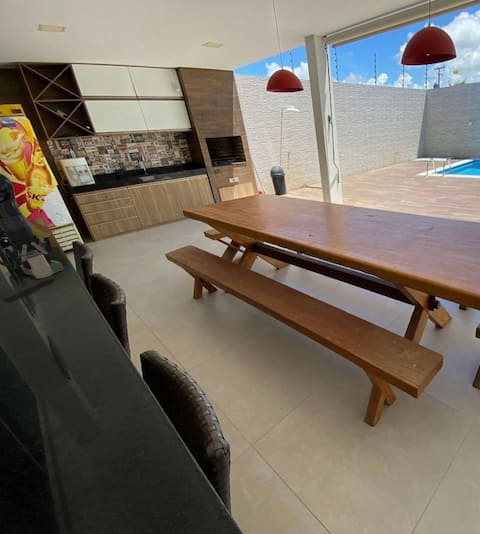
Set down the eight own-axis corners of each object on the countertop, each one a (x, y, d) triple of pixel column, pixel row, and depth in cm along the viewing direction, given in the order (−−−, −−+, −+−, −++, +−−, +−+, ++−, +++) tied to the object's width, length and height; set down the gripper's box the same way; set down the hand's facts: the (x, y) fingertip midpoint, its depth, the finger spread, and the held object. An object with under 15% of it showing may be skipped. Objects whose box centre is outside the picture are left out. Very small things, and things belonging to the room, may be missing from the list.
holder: (41, 278, 133) (37, 270, 131) (24, 273, 139) (19, 265, 138) (64, 270, 140) (60, 262, 138) (47, 265, 146) (43, 258, 144)
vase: (23, 267, 146) (13, 250, 142) (25, 263, 151) (16, 246, 147) (43, 262, 150) (33, 246, 146) (44, 258, 155) (35, 242, 151)
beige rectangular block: (39, 279, 125) (27, 259, 121) (33, 277, 127) (21, 257, 123) (56, 273, 130) (45, 253, 126) (49, 271, 132) (38, 252, 128)
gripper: (35, 220, 126) (55, 258, 134) (-14, 232, 115) (12, 272, 122) (44, 221, 123) (64, 259, 131) (-5, 233, 112) (20, 274, 119)
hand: (39, 265), depth 126 cm, fingers closed on beige rectangular block, 5 cm apart
